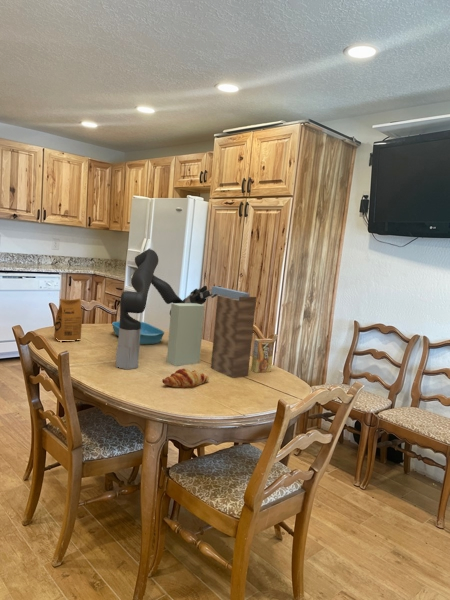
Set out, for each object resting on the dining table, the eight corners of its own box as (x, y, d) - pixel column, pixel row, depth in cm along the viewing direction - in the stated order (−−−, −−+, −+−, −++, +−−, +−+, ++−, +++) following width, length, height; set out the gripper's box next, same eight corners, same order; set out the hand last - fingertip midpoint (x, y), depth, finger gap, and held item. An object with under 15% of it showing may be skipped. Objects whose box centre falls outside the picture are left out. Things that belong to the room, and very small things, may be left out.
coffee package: (52, 338, 223) (54, 297, 220) (75, 337, 231) (77, 297, 228) (58, 343, 215) (60, 300, 212) (82, 341, 223) (85, 300, 220)
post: (247, 375, 191) (256, 297, 187) (232, 378, 185) (240, 297, 181) (225, 365, 203) (233, 291, 199) (210, 367, 198) (218, 291, 193)
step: (199, 363, 204) (204, 305, 200) (174, 366, 195) (179, 305, 192) (191, 359, 209) (196, 303, 206) (166, 361, 200) (171, 303, 197)
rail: (248, 300, 186) (249, 293, 186) (243, 300, 184) (244, 293, 184) (216, 293, 204) (217, 286, 203) (211, 293, 202) (212, 286, 201)
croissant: (203, 387, 180) (201, 369, 182) (216, 383, 172) (213, 364, 175) (158, 392, 168) (156, 372, 170) (170, 388, 160) (167, 367, 162)
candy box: (266, 369, 204) (269, 338, 203) (271, 371, 201) (274, 340, 199) (250, 370, 200) (254, 338, 198) (255, 373, 196) (259, 340, 194)
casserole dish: (170, 345, 234) (171, 332, 233) (132, 348, 220) (133, 334, 219) (140, 331, 263) (141, 319, 262) (105, 332, 249) (106, 320, 248)
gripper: (182, 292, 211) (199, 279, 200) (205, 293, 220) (223, 280, 209) (185, 306, 209) (203, 294, 198) (208, 306, 218) (226, 294, 207)
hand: (213, 287), depth 203 cm, fingers open, 8 cm apart
